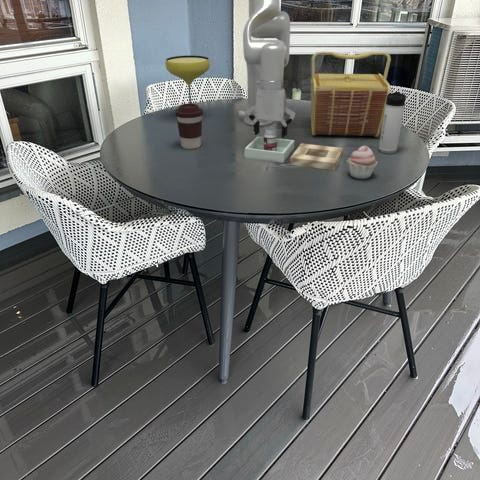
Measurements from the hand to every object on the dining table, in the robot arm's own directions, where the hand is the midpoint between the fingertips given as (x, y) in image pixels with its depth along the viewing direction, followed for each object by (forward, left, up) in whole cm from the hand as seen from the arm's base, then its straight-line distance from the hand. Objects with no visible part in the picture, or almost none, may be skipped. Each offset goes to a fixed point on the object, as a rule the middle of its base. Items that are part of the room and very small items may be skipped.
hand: (270, 135), depth 157 cm
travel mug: (+39, +17, -7) cm, 43 cm away
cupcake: (+33, -9, -7) cm, 35 cm away
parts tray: (0, 0, -7) cm, 7 cm away
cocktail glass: (-45, +29, -7) cm, 54 cm away
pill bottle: (0, 0, -6) cm, 6 cm away
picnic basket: (+20, +35, -7) cm, 41 cm away
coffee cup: (-30, -2, -7) cm, 31 cm away
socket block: (+17, 0, -7) cm, 18 cm away
